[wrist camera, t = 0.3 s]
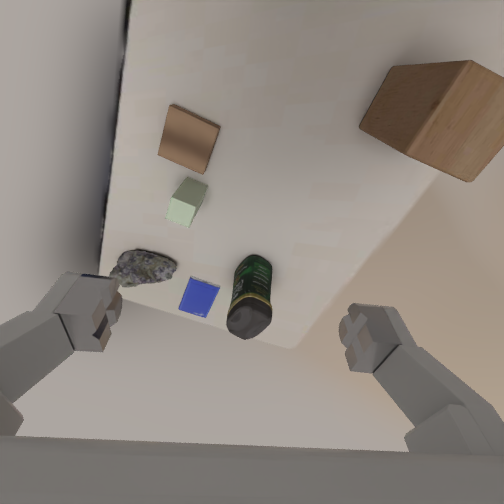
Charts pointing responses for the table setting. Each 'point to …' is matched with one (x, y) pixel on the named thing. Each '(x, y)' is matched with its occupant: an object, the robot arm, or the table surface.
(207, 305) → the hard drive
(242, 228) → the table surface
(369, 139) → the table surface
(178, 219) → the column
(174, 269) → the mineral rock
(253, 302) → the coffee jar
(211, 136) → the slab
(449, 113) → the wooden block
